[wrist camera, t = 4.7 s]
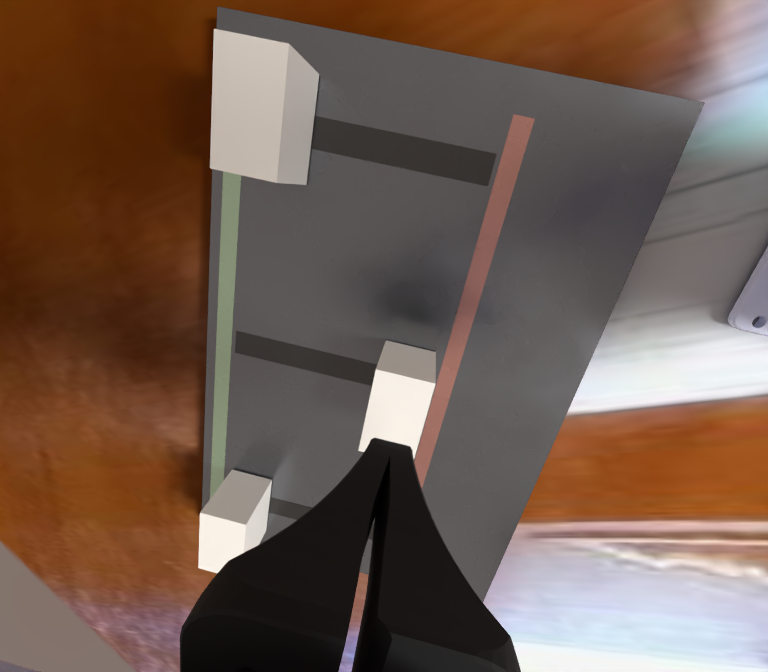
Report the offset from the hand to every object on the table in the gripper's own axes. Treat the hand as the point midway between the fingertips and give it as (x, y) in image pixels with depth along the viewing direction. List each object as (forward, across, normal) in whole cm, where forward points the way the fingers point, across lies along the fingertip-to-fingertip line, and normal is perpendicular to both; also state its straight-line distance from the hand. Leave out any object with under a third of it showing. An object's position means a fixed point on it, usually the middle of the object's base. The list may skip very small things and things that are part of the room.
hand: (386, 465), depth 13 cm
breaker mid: (+6, 0, 0) cm, 6 cm away
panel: (+7, +1, 0) cm, 7 cm away
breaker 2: (+6, +7, +10) cm, 14 cm away
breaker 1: (+6, +7, -10) cm, 14 cm away
